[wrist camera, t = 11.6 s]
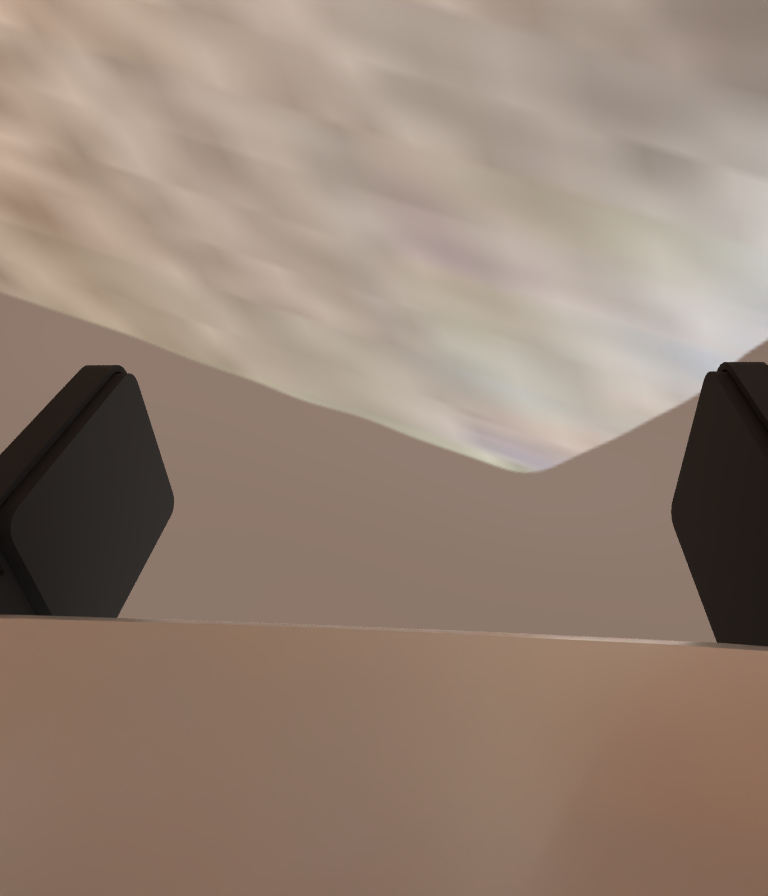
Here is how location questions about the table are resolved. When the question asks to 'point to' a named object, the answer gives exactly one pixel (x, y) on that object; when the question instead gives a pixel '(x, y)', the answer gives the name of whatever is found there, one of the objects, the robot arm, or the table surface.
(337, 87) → the table surface
